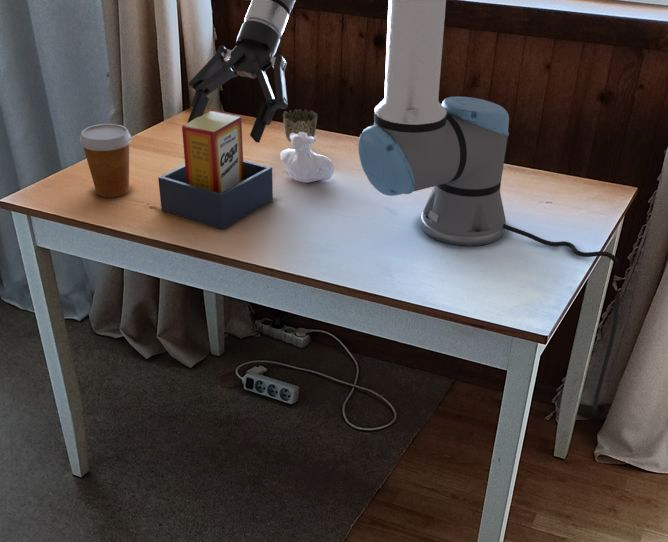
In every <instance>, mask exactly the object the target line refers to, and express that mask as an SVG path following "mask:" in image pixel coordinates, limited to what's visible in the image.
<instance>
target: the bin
mask: <svg viewBox="0 0 668 542" xmlns="http://www.w3.org/2000/svg"><path fill="white" fill-rule="evenodd" d="M243 169H244V181H242V182H240V183H238V184H237V185H235V186H233V187H231V188H229V189H227V190H226V191H224V192H222V193H217V192H214V191H210V190H207V189H203V188H200V187H197V186H193V185H190V184H187V181H186V169H185V164H183V165H180V166H179V167H177V168H174V169H172V170H170V171H168V172H166V173H164V174H161V175H159V176H158V177H157V179H158V190H159V198H160V207H161V208H160V209H161V211H163V212H166V213H169V214H173V215H175V216H179V217H182V218H185V219H188V220H192V221H195V222H197V223H201V224H205V225H207V226H210V227H214V228H215V229H216V228H217V229H220V230H224V229H227V228H228V227H230V226H232V225H233V224H235V223H236V222H238V221H240V220H242V219H243V218H245V217H247V216H248V215H250V214H251V213H253V212H255V211H257V210H258V209H260V208H261V207H264V206H265V205H267V204H268V203H270V202H272V201H273V200H274V191H273V189H274V187H273V167H271V166H267V165H264V164H260V163H257V162H253V161H249V160H245V159H243Z"/></svg>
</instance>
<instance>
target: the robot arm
mask: <svg viewBox="0 0 668 542" xmlns="http://www.w3.org/2000/svg"><path fill="white" fill-rule="evenodd" d="M296 1H297V0H251V1H250V4H249V6H248V9H247V12H246V13H245V17H244V20H243V21H244V22H243V23H242V24H241V27H240V30H239V32H238V34H237V37H236V42H235V43H236V44H235V47H234V48H233V49H230V48H229V49H228V48H226V47H225V45H223V44H221V45H219V46H218V48H217V50H216V52H215V54H214V55H213V56H212V57H211V58H210V59H209V60H208V62H207V63H206V64H205V65H204V66H203V67H202V68H201V69H200V70H199V71H198V72H197V74H195V75H194V76H193V78H192V79H190V81H189V82H188V85H189V87H190V88H191V89H192V90H193V91H194V95H193V98H192V101H191V103H190V108H191V112H190V114H189V117H188V118H187V122H186V124H187V123H188V122H190V121H192V120H194V119H195V118H197V117H200V116H202V115H204V114H205V111H206V108H207V106H208V104H209V102H210V98H209V97H208V96H209V95H210V94H211V93H213V92H214V91H216V90H217V89H218V88H221V86H222V85H224V84H226V83H227V82H228V81H230V80H231V79H235V78H236V77H238V76H239V77H242V78H249V79H256V78H257V80H258V83H259V86H260V87H261V91H262V94H263V97H264V98H265V102H266V103H265V102H261V105H260V107H259V110H258V113H257V115H256V118H255V121H254V123H253V126H252V128H251V131H250V134H249V136H250V137H251V139H252V140H253V141H254V143H257V144H258V143H260V142H261V140H262V138H263V134H264V131H265V129H266V126H270V125H271V123H272V120H273V119H274V115H275V113H276V111H277V110H278V109H283V110H286V109H287V108H288V106H289V104H288V94H287V85H286V83H287V82H286V75H285V72H286V68H287V64H288V63H287V61H286V60H285V58H284V57H283V55H282V54H280V53H279V54H277V55H276V53H277V50H278V47H279V45H280V43H281V38H282V37H283V33H284V32H285V28H286V26H287V23H288V20H289V18H290V16H291V12H292V10H293V8H294V5H295V3H296ZM446 6H447V0H388V7H387V8H388V9H387V31H386V32H387V33H386V55H385V79H384V98H383V99H382V100H381V101H380V102H379V103H378V104H377V105H376V106H375V107H374V113H373V121H374V122H373V125H370V126H367V127H366V128H364V129H363V131H362V133H360V135H359V139H358V144H357V145H358V146H357V148H358V156H359V162H360V165H361V168H362V170H363V173H364V174H365V176H366V178H367V180H368V182H369V183H370V184H371V185H372V186H373V188H374V189H375V190H377V192H379V193H381V194H382V195H385V196H390V197H394V196H398V195H399V196H400V195H410V194H412V193H414V192H418V191H422V190H425V189H430V188H432V190H431V192H430V194H429V197H428V199H427V201H426V203H425V206H424V208H423V210H422V212H421V219H420V227H421V230H422V231H423V232H424V233H425V234H426V235H427V236H429V237H430V238H432V239H435V240H437V241H440V242H442V243H446V244H450V245H455V246H467V247H468V246H469V247H470V246H471V247H472V246H482V245H483V246H484V245H488V244H491V243H494V242H496V241H498V240H500V239H501V238H502V237H503V236H504V234H505V232H506V231H509V232H512V233H515V234H517V235H520V236H522V237H526V238H529V239H530V240H532V241H535V242H538V243H539V244H542V245H545V246H549V247H567V248H569V249H570V250H571V251H572V253H573V254H575V255H576V256H578V257H581V258H582V257H583V258H593V257H594V258H595V257H606V258H608V259H609V260H611V261H612V262H614V263H619V262H620V260H619V259H618V258H617V257H616V256H615V255H614V254H613V253H612V252H608V251H605V250H604V251H603V250H599V251H588V252H586V251H580V250H578V249H577V247H576V246H575V245H574V244H573V243H572V242H569V241H564V240H563V241H551V240H548V239H544V238H541V237H539V236H537V235H535V234H533V233H530V232H528V231H525V230H522V229H519V228H516V227H514V226H511V225H509V224H506V223H507V221H506V213H505V210H504V204H503V199H502V195H501V186H502V177H503V172H504V171H503V170H504V165H505V159H506V152H507V145H508V139H509V135H510V132H509V124H510V116H509V115H510V114H509V112H508V111H507V110H506V109H505V108H504V107H503V106H502V105H500V104H497V103H495V102H492V101H490V100H485V99H482V98H475V97H471V96H470V97H469V96H449V97H445V98H444V99H443V100H442V103H441V102H440V100H439V98H440V97H439V96H440V82H441V70H442V60H443V59H442V58H443V57H442V56H443V47H444V46H443V44H444V31H445V22H446V21H445V19H446ZM275 55H276V56H275ZM270 67H272V68H273V78H274V85H275V95H274V93H273V89H272V87H271V84H270V82H269V78H268V76H267V73H266V71H267V70H268V69H269V68H270ZM232 68H233V69H232ZM275 97H276V98H275ZM505 230H506V231H505ZM620 301H621V289H619V290H618V291H617V293H616V294H615V296H614V306H613V307H614V309H613V317H612V322H611V323H612V324H611V330H610V334H609V340H608V343H607V348H606V352H605V356H604V360H603V363H602V366H601V370H600V374H599V377H598V381H597V386H596V389H595V393H594V398H593V403H592V409H593V410H597V408H598V404H599V399H600V395H601V390H602V387H603V383H604V379H605V375H606V371H607V368H608V365H609V361H610V358H611V353H612V350H613V346H614V341H615V336H616V332H617V327H618V326H617V325H618V320H619V313H620Z"/></svg>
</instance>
